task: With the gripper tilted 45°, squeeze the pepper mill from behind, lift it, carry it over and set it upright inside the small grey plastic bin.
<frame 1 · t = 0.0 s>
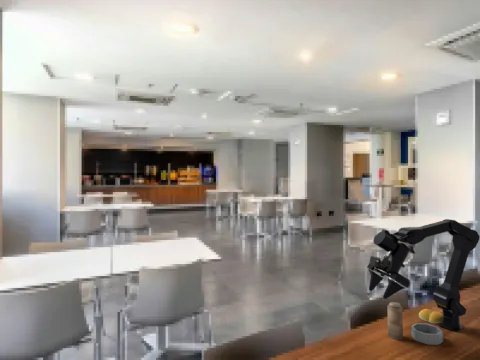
hand: (376, 294, 123), 15 cm above the table, tool tilted 35°, fingers open, 9 cm apart
bread roll: (431, 320, 135), on the table
pepper mill: (395, 336, 121), on the table
bin: (426, 338, 119), on the table
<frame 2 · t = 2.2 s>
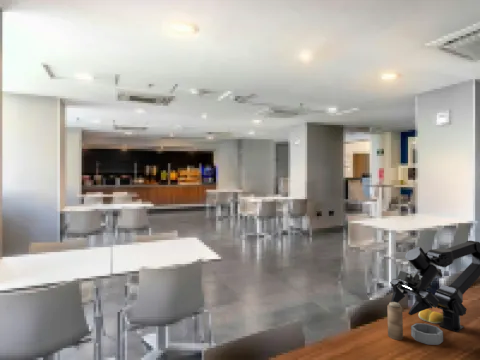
hand: (400, 309, 122), 9 cm above the table, tool tilted 45°, fingers open, 9 cm apart
nothing on the table moved.
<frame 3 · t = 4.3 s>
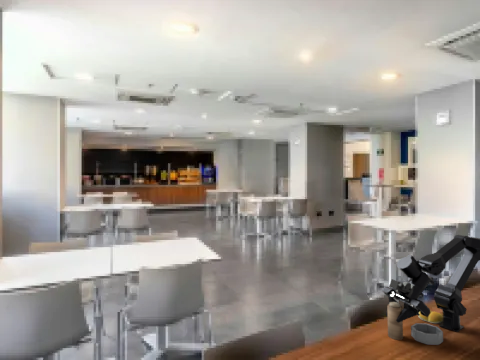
hand: (391, 318, 121), 7 cm above the table, tool tilted 45°, fingers closed on pepper mill, 5 cm apart
pepper mill: (395, 336, 121), on the table, touching gripper
everything else where it was.
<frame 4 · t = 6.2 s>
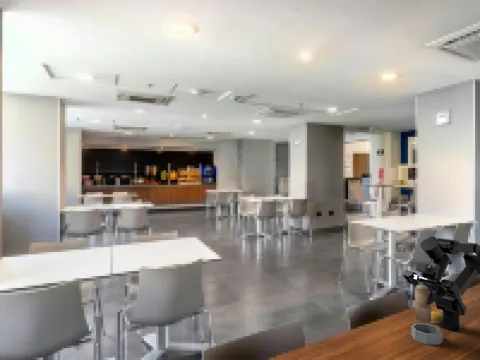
hand: (420, 302, 119), 13 cm above the table, tool tilted 45°, fingers closed on pepper mill, 5 cm apart
pepper mill: (423, 319, 119), point 7 cm above the table, touching gripper
everything else where it was.
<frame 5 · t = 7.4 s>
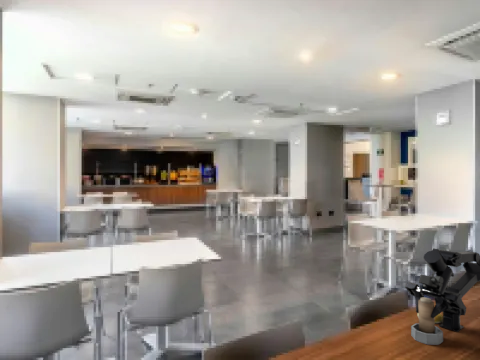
hand: (424, 314, 118), 9 cm above the table, tool tilted 45°, fingers closed on pepper mill, 5 cm apart
pepper mill: (427, 332, 119), point 2 cm above the table, touching gripper
everything else where it was.
when the fingers open (9 cm above the table, at t = 8.2 s): pepper mill drops 1 cm, resting on bin.
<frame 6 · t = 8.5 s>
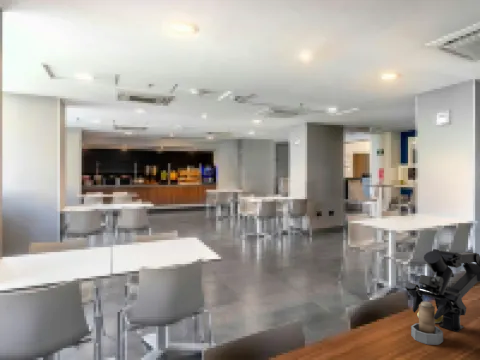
hand: (424, 315, 118), 9 cm above the table, tool tilted 45°, fingers open, 7 cm apart
pepper mill: (426, 336, 119), point 1 cm above the table, touching bin
everything else where it was.
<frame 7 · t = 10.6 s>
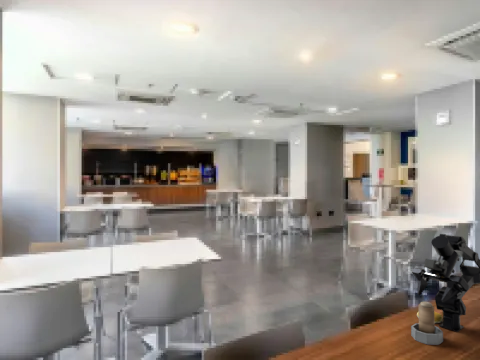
hand: (430, 298, 122), 14 cm above the table, tool tilted 45°, fingers open, 9 cm apart
nothing on the table moved.
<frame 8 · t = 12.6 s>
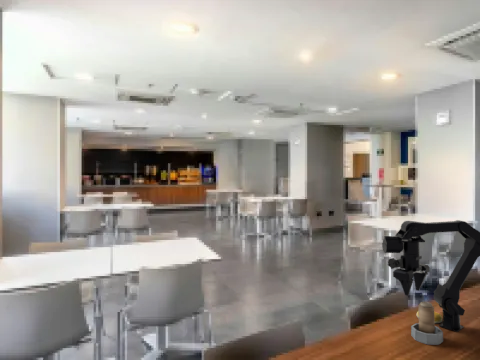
hand: (412, 292, 130), 13 cm above the table, tool pointing down, fingers open, 9 cm apart
nothing on the table moved.
at the end: pepper mill 0.1 cm off-centre on the bin, point 0.6 cm above the bin's base; pepper mill tilted 0°; the gripper is holding nothing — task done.
